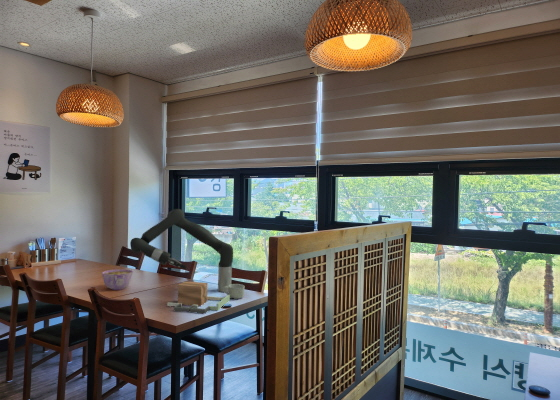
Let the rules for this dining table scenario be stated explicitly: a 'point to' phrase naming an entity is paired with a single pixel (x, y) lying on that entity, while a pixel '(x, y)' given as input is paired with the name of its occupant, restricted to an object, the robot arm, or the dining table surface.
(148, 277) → the dining table surface
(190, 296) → the block
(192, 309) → the lane
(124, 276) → the bowl of food
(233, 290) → the teacup
